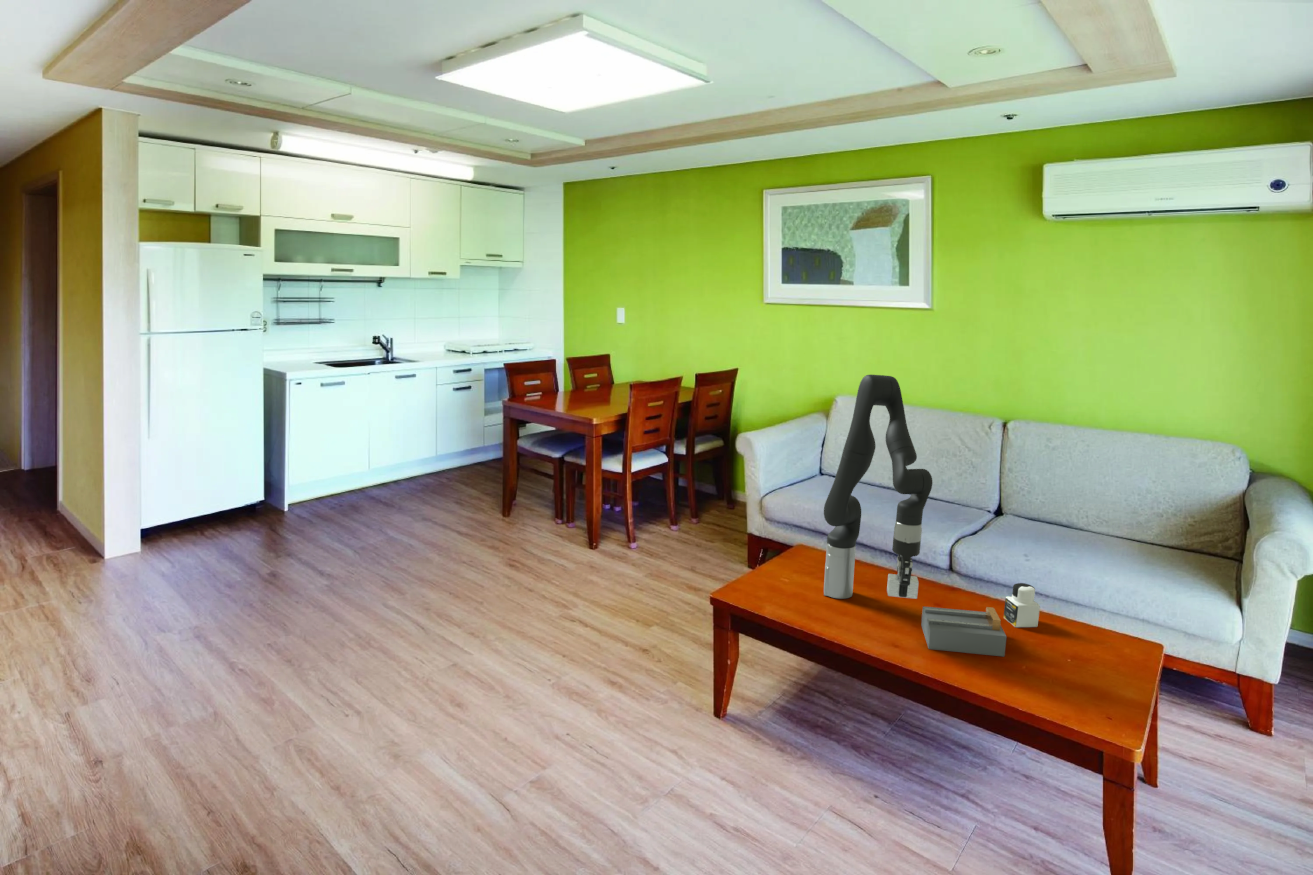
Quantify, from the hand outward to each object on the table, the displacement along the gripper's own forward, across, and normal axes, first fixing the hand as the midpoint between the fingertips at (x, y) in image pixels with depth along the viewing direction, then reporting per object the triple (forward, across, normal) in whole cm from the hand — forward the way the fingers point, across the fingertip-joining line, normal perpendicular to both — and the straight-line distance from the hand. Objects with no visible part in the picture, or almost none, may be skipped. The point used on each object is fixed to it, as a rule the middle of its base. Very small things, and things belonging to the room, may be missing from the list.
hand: (901, 592), depth 224 cm
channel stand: (+13, 0, +18) cm, 22 cm away
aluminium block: (+1, 0, 0) cm, 1 cm away
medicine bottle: (+13, -17, +37) cm, 43 cm away
